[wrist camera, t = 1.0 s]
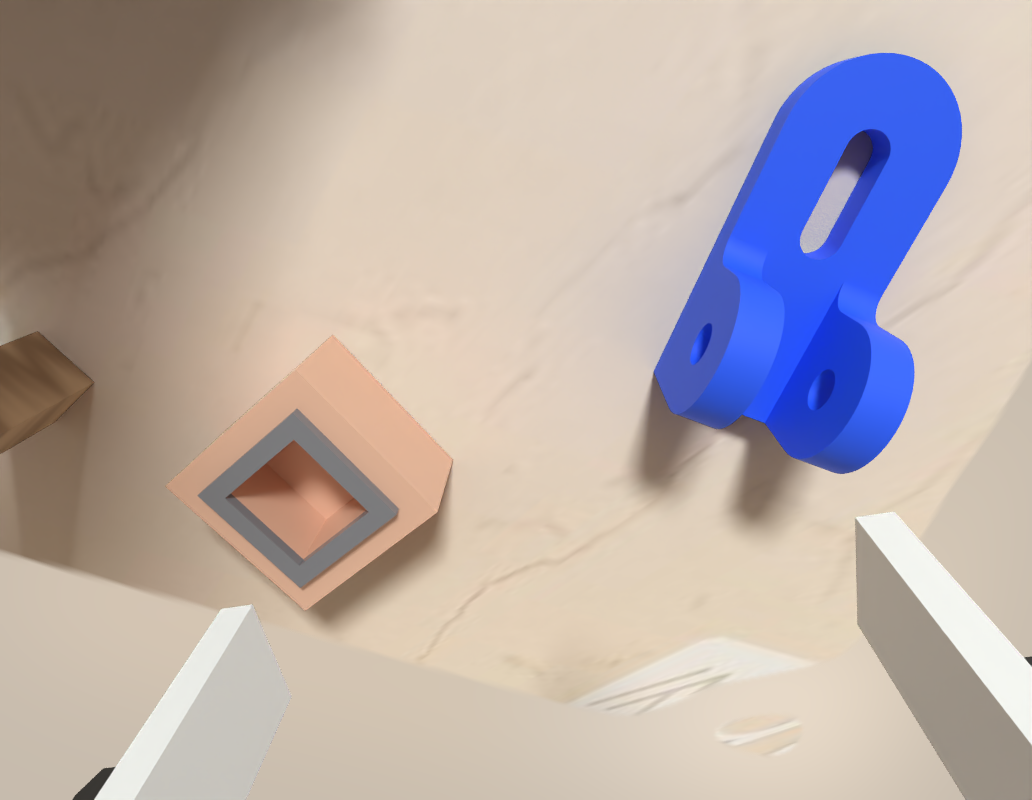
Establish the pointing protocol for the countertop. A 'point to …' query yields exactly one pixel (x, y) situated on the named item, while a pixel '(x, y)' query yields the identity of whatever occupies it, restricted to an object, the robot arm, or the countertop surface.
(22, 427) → the tall wooden block
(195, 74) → the countertop surface
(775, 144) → the bracket
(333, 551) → the peach square socket block
